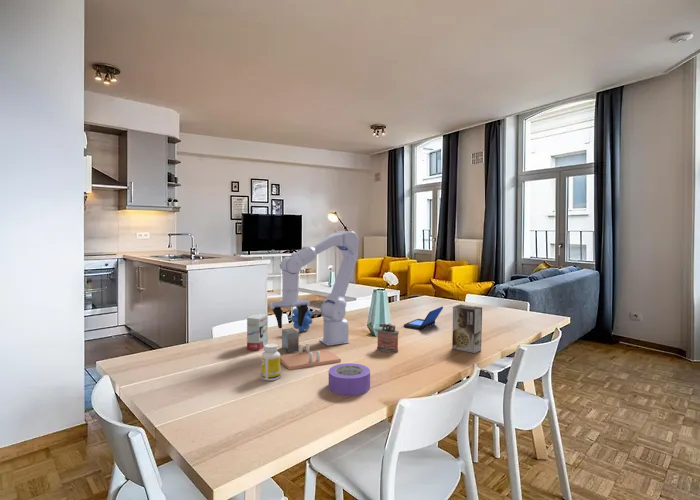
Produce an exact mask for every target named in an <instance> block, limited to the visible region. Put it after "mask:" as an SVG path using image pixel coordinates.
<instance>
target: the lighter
mask: <svg viewBox="0 0 700 500" xmlns="http://www.w3.org/2000/svg"><path fill="white" fill-rule="evenodd" d="M378 327H380V328H377V330H376V333H377V347H376V350H377V351H379V352H380V351H381V352H384V353H393V354H394V353H395V354H396V353H399V334H400V333H399V331H398V330H396V324H392V323H385V322H380V323H379V324H378Z"/></svg>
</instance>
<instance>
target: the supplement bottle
mask: <svg viewBox="0 0 700 500" xmlns="http://www.w3.org/2000/svg"><path fill="white" fill-rule="evenodd" d="M278 346H279V345H278V344H277V343H268V344H266V345H264V347H263V351H264V352H263V353H261V379H262V380H263V381H268V382H269V381H270V382H271V381H272V382H273V381H276V380H279V379H280V377H281V361H280V355H281V353H280V352H279V351H278V349H279V347H278Z"/></svg>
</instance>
